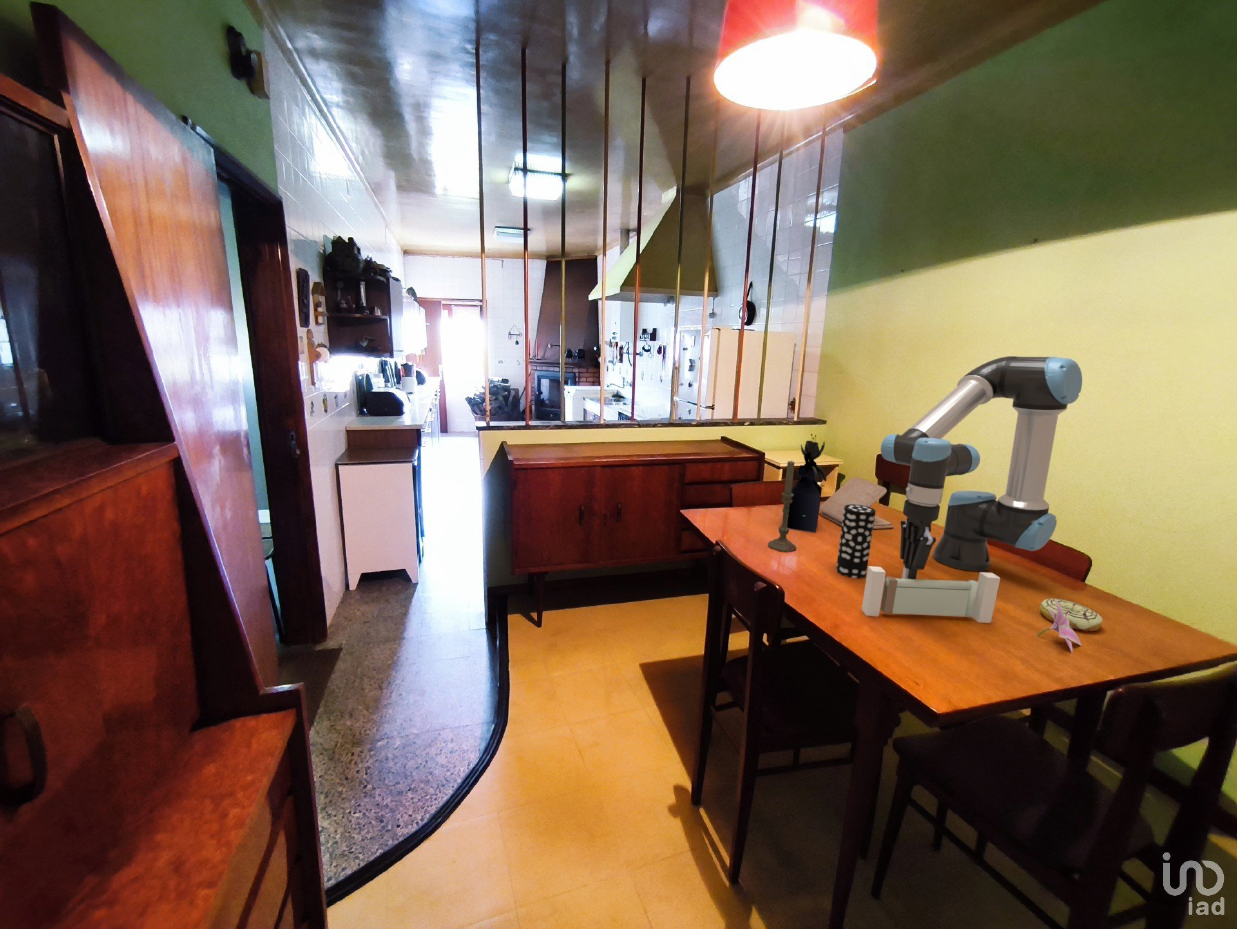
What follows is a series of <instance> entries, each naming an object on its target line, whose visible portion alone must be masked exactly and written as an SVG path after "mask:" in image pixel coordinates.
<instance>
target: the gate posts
mask: <svg viewBox="0 0 1237 929" xmlns="http://www.w3.org/2000/svg"><path fill="white" fill-rule="evenodd" d="M885 577H886V571H885V570H884V569H883V568H882V567H881V566H871V565H870V566H869V565H868V566H867V573H866V579H865V583H864V584H865V585H864V586H865V587H864V592H863V598H862V599H863V600H862V606H861V611H862V612H863V613H864V615H865V616H867V617H879V616H880V611H881V610H880V608H881V602H882V596H883V589H884V583H885ZM1000 581H1001V578H1000V577H999V576H998V575H997V574H994V573H993V572H984V571H979V574H978V580H977V582H978V588H977V593H976V598H975V603H974V608H973V613H972V617H971V618H972V619H973V620H975V621H976V622H977V623H980V624H981V623H982V624H983V623H986V624H991V623H992V619H993V615H994V611H995V606H996V605H995V604H996V601H997V600H996V599H997V595H998V591H999V585H1000Z"/></svg>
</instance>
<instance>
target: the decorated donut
mask: <svg viewBox="0 0 1237 929" xmlns="http://www.w3.org/2000/svg"><path fill="white" fill-rule="evenodd" d="M1055 599H1056V600H1057V601H1058V603H1059V604H1060V606H1061V608H1062V610H1063V613H1064V616H1065V617H1067V618H1068V620H1069V626H1070V628H1071V629H1072V630H1076V631H1077V630H1078V631H1082V632H1084V633H1085V632H1095V631H1098V630H1099V629H1100V628H1101V625H1102V622H1103V621H1104V620H1103V617H1102V616H1101V615H1099V613H1097V612H1096V611H1094V610H1092V609H1091V608H1089V607H1086V606H1083V605H1081V604H1079V603H1076V602H1073V601H1069V600H1065V599H1060V598H1047V599H1044V600H1043V601H1042V602H1041V603H1040V606H1039V609H1040V611H1041V614H1042V615H1043V616H1044V617H1045V619H1046V620H1049V621H1050V622H1053V623H1054V621H1055V620H1056V619H1055V620H1054V618H1053V617H1052V615H1051V613H1050V612H1049V611H1048V609H1050V610H1052V611H1053V612H1055V614H1057V605H1056V600H1055ZM1071 626H1072V627H1073V628H1072V627H1071Z"/></svg>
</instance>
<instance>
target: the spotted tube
mask: <svg viewBox="0 0 1237 929" xmlns="http://www.w3.org/2000/svg"><path fill="white" fill-rule="evenodd" d="M876 512H877V510H876V509H875V508H873V507H872V506H871V507H868V506H863V505H856V504H849V505H845V506H844V514H843V521H842V526H841V530H840V537H839V538H840V539H839V544H838V553H837V561H836V567H835V570H836V573H838V574H840V575H841V576H844V577H847V578H853V579H863V578H865V577H866V578H867V571H868V566H869V558H870V553H871V547H872V546H871V545H872V540H873V539H872V538H873V532H874V529H873V526H874V519H875V516H876Z"/></svg>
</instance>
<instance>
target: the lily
mask: <svg viewBox="0 0 1237 929" xmlns="http://www.w3.org/2000/svg"><path fill="white" fill-rule="evenodd" d="M1054 599H1055V600H1056V599H1057V598H1054ZM1056 605H1057V614H1055V612H1053V611H1052V610H1050V609H1048V611H1049V612H1050V613H1051V615H1052V617H1053V618H1054V620H1055V619H1056V620H1055V621H1054V622H1053V624H1052V626H1051V627H1049V628H1046V629H1043V631H1041V632H1039V633H1037V635H1036V636H1037V637H1039V636H1041V635H1042V634H1044V633H1045V632H1047V631H1049V630H1054V631H1056V632H1057V633H1058V635H1059V637H1060V638H1062V639H1064V640H1065V642H1066V644H1067V645H1068V647H1069V649H1070V652H1071V653H1073V644H1072V642H1074V643H1076V644H1078V645H1079V646H1082V642H1081V641H1080V638H1079V636H1078V635H1077V633H1076V632H1075V631H1074V629H1071V628H1070V626H1069V620H1068V618H1067V617H1065V616H1064V613H1063V610H1062V608H1061V606H1060V604H1059V603H1058V601H1057V600H1056ZM1071 627H1072V626H1071ZM1072 628H1073V627H1072Z"/></svg>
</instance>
